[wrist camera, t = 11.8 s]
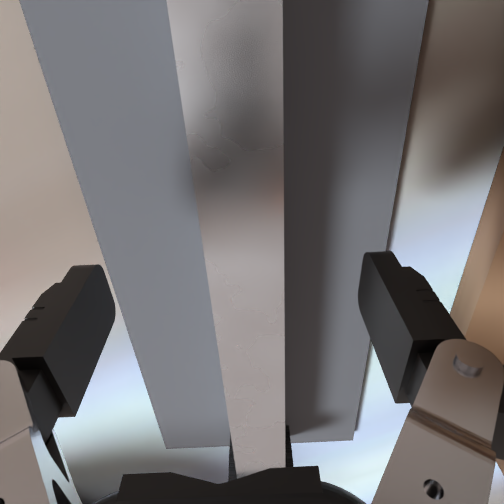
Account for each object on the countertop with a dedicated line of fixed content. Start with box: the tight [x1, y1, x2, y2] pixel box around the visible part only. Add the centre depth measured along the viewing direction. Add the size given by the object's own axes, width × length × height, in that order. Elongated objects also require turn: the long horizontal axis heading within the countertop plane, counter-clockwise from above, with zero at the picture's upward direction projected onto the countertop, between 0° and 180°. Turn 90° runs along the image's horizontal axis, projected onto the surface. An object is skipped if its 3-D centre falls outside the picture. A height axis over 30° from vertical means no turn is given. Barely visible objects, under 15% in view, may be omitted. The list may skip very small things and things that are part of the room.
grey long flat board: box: [19, 0, 429, 449], centre depth 15 cm, size 32×12×1 cm, turn 3°
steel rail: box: [166, 0, 293, 482], centre depth 13 cm, size 30×4×4 cm, turn 3°
